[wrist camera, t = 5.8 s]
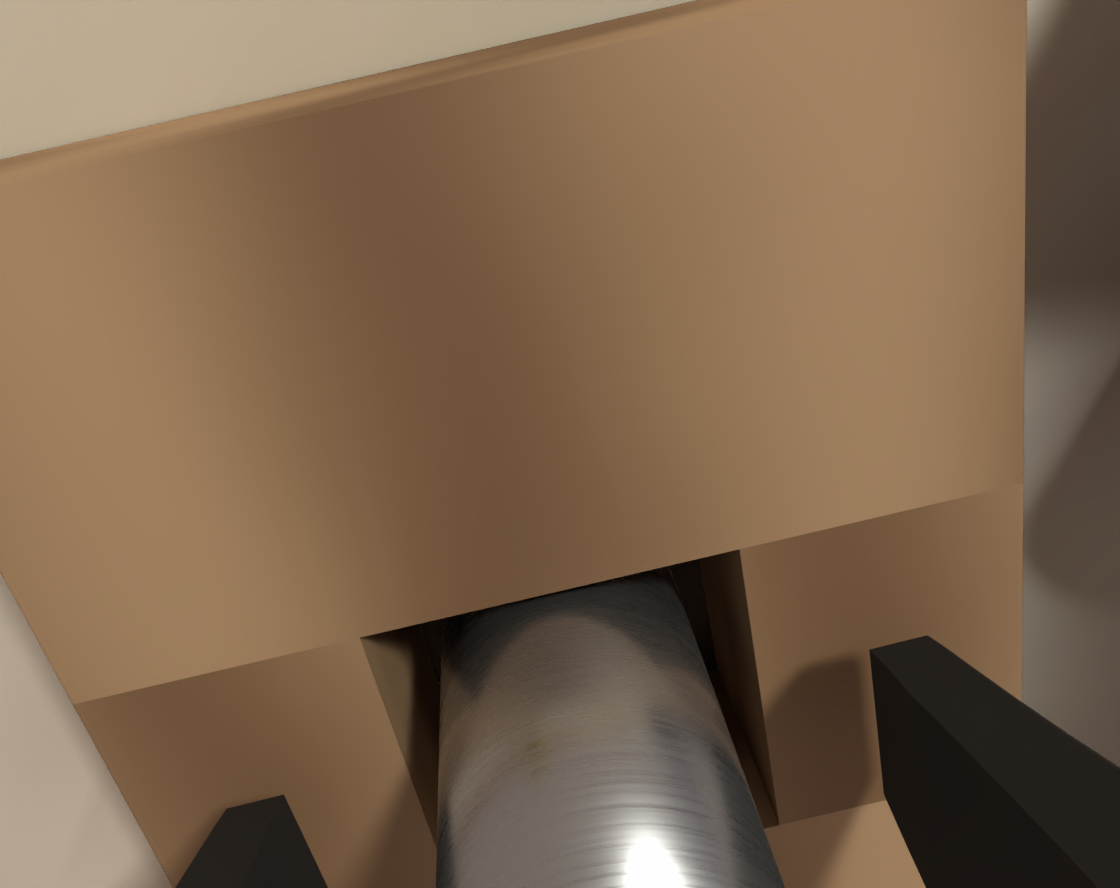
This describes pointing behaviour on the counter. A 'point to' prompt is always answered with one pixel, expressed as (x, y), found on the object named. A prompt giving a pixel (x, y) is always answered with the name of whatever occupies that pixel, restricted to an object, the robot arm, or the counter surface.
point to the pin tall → (589, 749)
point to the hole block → (525, 403)
